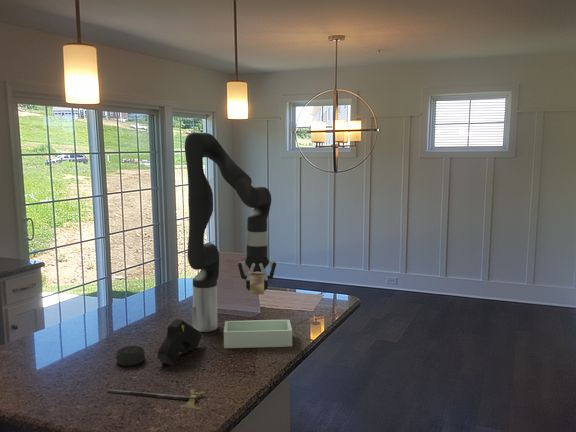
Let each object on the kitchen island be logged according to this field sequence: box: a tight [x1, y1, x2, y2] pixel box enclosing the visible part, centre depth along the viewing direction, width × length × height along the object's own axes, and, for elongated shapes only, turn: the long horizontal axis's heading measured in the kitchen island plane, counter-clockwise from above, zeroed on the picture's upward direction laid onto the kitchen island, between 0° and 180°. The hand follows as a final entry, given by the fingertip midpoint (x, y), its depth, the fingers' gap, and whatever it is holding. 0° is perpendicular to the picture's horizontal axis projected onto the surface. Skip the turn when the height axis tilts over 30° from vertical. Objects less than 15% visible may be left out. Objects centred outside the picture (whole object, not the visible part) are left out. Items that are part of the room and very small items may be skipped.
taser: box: [157, 318, 203, 366], centre depth 172 cm, size 4×18×15 cm
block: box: [249, 271, 265, 296], centre depth 183 cm, size 5×5×7 cm
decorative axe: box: [106, 388, 206, 410], centre depth 144 cm, size 30×2×10 cm
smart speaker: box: [115, 345, 146, 367], centre depth 167 cm, size 9×9×4 cm
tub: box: [223, 319, 293, 349], centre depth 186 cm, size 24×12×6 cm, turn 95°
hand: (257, 289), depth 183 cm, fingers closed on block, 5 cm apart
